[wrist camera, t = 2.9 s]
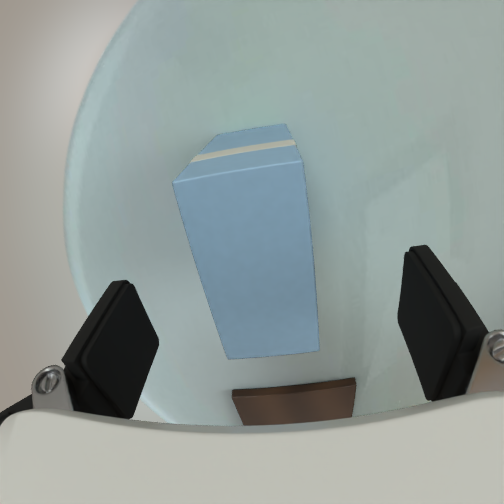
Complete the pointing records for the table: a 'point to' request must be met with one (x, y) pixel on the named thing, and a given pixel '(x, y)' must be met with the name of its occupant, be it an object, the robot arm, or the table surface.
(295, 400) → the brown wooden board
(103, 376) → the robot arm
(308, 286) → the box
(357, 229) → the table surface
